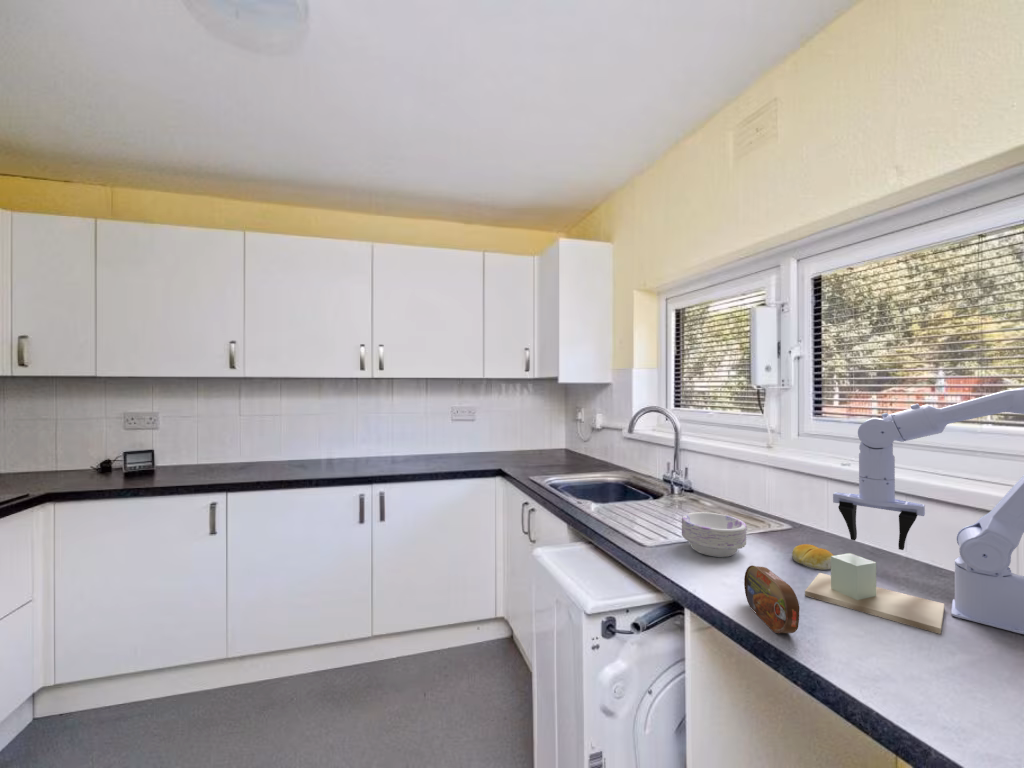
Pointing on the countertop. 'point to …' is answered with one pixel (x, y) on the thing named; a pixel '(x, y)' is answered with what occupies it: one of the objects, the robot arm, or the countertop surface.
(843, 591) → the pale green block
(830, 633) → the countertop surface
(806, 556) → the bread roll
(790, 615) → the tin
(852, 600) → the board
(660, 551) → the countertop surface
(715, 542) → the paper bowls
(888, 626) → the countertop surface
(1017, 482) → the robot arm
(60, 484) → the countertop surface
